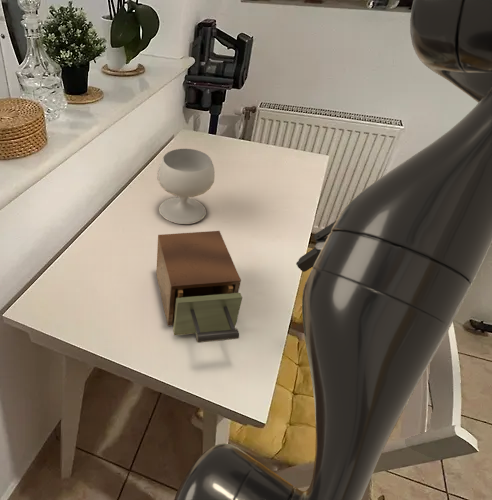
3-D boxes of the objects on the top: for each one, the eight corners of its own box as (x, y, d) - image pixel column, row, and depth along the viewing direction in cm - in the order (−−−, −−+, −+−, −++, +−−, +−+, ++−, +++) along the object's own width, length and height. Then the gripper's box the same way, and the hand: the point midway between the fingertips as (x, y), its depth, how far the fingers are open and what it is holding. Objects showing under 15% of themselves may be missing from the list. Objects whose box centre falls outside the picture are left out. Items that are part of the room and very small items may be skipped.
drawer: (245, 360, 76) (255, 327, 70) (181, 366, 75) (185, 334, 69) (216, 280, 91) (221, 247, 85) (162, 284, 90) (164, 252, 84)
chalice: (147, 201, 115) (149, 150, 105) (195, 192, 119) (200, 142, 109) (168, 232, 105) (171, 178, 95) (218, 221, 109) (227, 169, 99)
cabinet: (232, 320, 84) (241, 280, 77) (167, 325, 83) (171, 286, 76) (213, 269, 95) (219, 230, 88) (156, 273, 94) (158, 234, 87)
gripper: (375, 177, 61) (280, 244, 67) (440, 239, 50) (319, 313, 57) (395, 205, 65) (303, 267, 71) (459, 269, 54) (344, 335, 60)
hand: (310, 287), depth 64 cm, fingers open, 8 cm apart
